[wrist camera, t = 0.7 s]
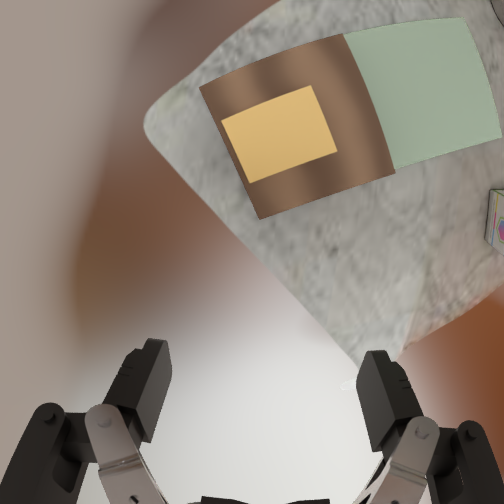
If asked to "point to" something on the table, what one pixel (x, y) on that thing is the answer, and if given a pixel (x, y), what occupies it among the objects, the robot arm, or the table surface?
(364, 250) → the table surface
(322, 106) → the brown wooden block
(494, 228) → the ink box
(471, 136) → the mat
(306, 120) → the tile
